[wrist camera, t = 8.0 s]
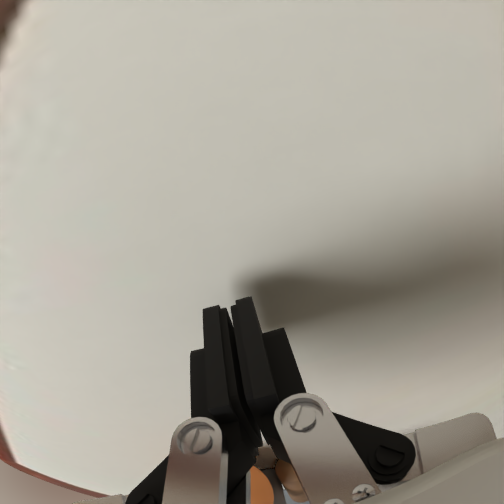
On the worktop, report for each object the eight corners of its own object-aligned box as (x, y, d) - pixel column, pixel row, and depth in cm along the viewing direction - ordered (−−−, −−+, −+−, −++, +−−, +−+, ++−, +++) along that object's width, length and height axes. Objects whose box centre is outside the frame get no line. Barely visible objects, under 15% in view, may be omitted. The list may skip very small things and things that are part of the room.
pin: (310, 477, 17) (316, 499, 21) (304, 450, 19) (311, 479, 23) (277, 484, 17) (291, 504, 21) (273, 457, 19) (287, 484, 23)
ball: (292, 468, 18) (284, 508, 13) (257, 517, 18) (240, 560, 12) (220, 434, 20) (190, 464, 14) (191, 485, 19) (159, 520, 13)
